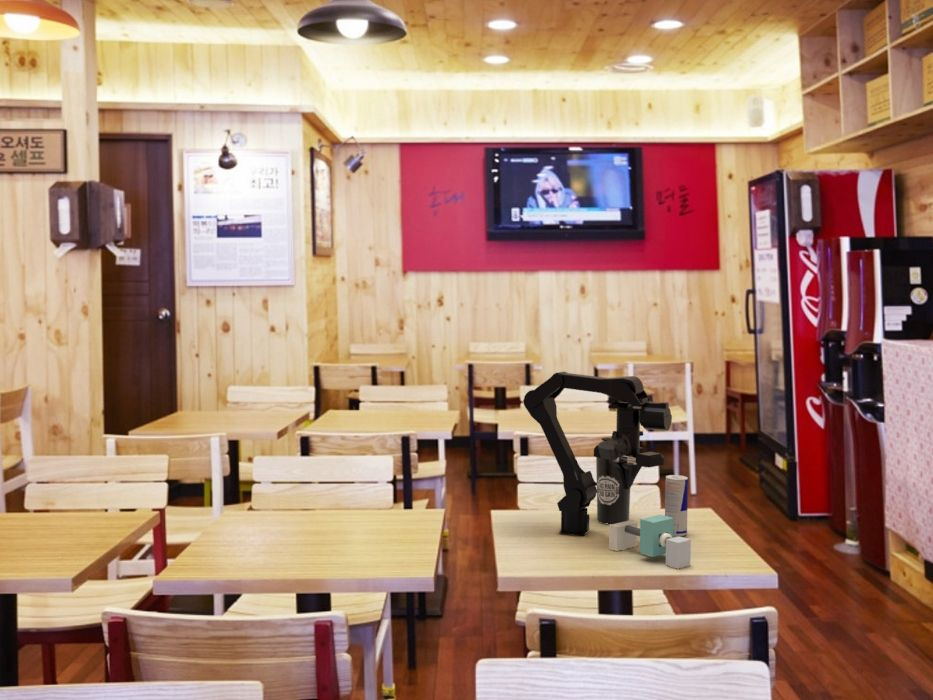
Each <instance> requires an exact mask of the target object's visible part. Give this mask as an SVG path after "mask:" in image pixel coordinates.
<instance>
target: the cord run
mask: <svg viewBox="0 0 933 700" xmlns="http://www.w3.org/2000/svg"><path fill="white" fill-rule="evenodd" d="M608 537H609V540H608V541H609V542H608V545H609V547H608V549H609V550H610V549H612V550H611V551H613V550H615V551H614V552H616V551H618V552H620V551H619V550H622V551H624V550H623V549H626V550H628V549H627V548H630V549H633V548H632V547H634V548H637V547H638V537H640V527H638V522H637V521H633V520H630V519H629V521H625V522H620V523H616V524H611V525H609V534H608ZM659 544H660V545H661V546H662V547H666V554H665V566H666V565H668V566H667V567H669V566H670V567H671V568H673V569H676V568H677V569H676V570H679V568H680V569H683V568H687V567H690V566H691V558H692V557H691V555H692V551H691V550H692V549H691V548H692V540H691V539H690V538H686V537H684V536H678V537H675V536H673V538H672V536H671V535H670V534H668V533H662V534H661V535H660V534H659ZM636 546H637V547H636Z"/></svg>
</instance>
